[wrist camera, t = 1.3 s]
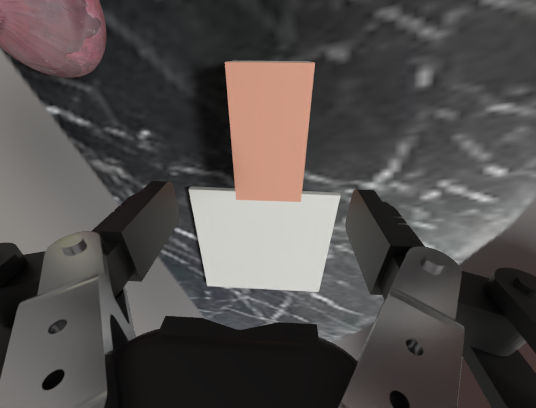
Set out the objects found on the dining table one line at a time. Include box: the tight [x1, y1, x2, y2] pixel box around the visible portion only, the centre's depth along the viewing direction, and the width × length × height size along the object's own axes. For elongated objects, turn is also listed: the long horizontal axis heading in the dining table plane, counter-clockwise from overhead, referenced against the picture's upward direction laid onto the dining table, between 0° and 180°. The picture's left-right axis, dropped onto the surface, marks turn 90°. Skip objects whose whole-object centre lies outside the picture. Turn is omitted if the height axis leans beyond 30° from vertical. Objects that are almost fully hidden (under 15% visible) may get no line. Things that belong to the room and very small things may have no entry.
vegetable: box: [0, 0, 106, 77], centre depth 12 cm, size 6×6×10 cm
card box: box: [225, 61, 315, 202], centre depth 18 cm, size 10×6×4 cm, turn 0°
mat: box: [189, 186, 340, 292], centre depth 27 cm, size 15×15×1 cm
